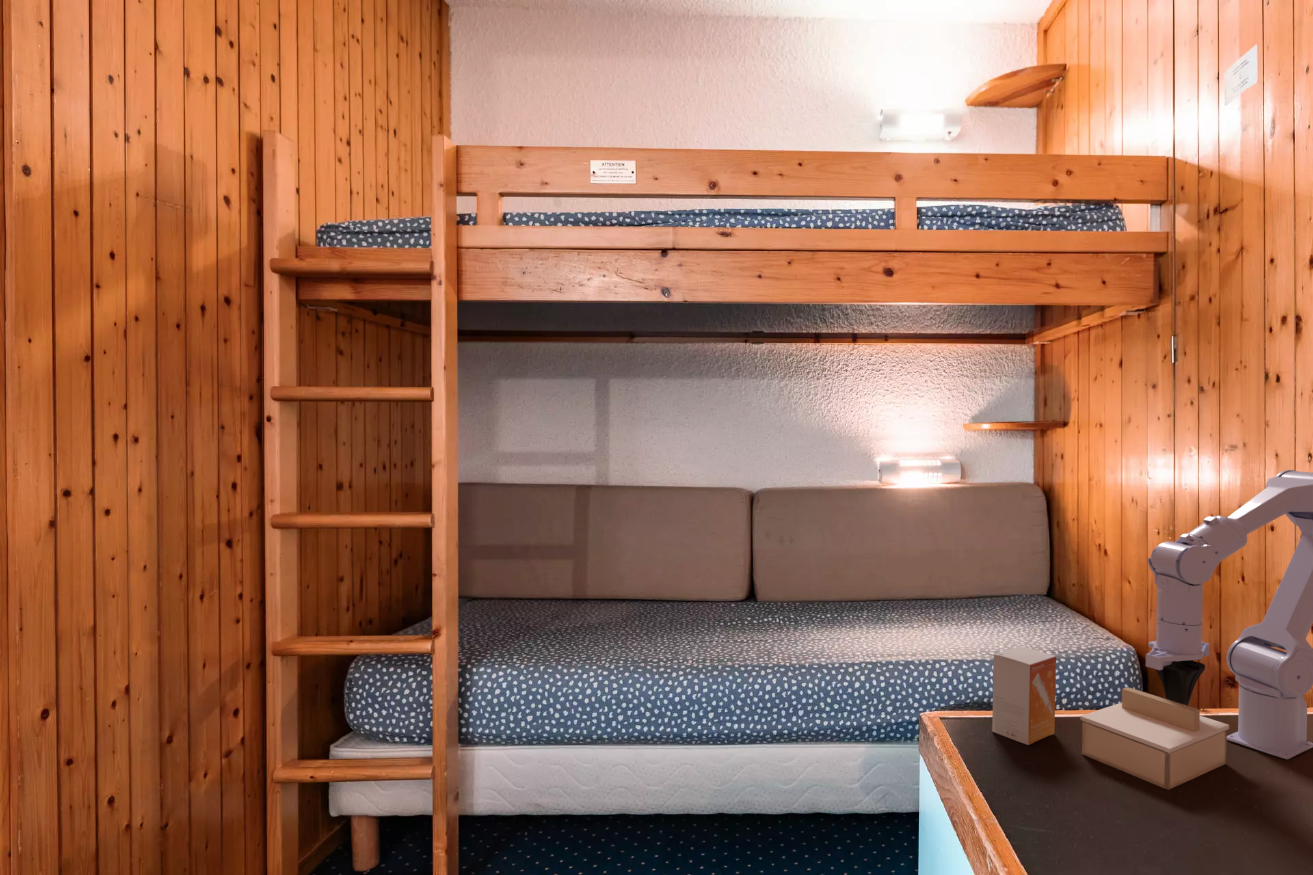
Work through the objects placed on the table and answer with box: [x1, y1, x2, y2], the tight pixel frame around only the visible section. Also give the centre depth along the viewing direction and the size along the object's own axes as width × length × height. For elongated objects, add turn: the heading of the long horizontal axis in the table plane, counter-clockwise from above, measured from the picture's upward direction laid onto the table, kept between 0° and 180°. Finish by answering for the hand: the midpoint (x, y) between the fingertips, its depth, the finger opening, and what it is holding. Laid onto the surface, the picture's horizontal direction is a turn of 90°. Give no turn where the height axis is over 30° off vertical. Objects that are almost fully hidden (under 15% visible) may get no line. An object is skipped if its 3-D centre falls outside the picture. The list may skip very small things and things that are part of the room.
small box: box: [991, 645, 1057, 746], centre depth 117 cm, size 8×6×13 cm
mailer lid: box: [1079, 686, 1230, 753], centre depth 108 cm, size 16×12×4 cm
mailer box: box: [1081, 721, 1228, 791], centre depth 108 cm, size 16×12×5 cm
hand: (1177, 707), depth 111 cm, fingers closed
